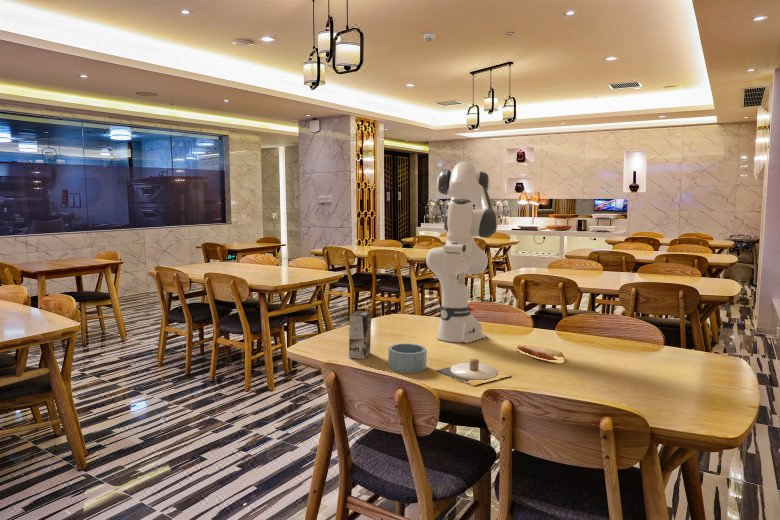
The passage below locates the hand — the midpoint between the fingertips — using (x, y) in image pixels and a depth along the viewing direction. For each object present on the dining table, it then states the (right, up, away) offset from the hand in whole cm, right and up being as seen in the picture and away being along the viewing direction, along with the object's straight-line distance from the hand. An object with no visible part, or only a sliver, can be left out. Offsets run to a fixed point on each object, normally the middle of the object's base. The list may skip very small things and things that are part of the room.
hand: (457, 285), depth 192 cm
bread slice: (+34, -29, +22) cm, 50 cm away
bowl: (-17, -29, +3) cm, 34 cm away
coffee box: (-35, -27, +16) cm, 47 cm away
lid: (+5, -30, -2) cm, 30 cm away
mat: (+5, -30, -2) cm, 31 cm away
